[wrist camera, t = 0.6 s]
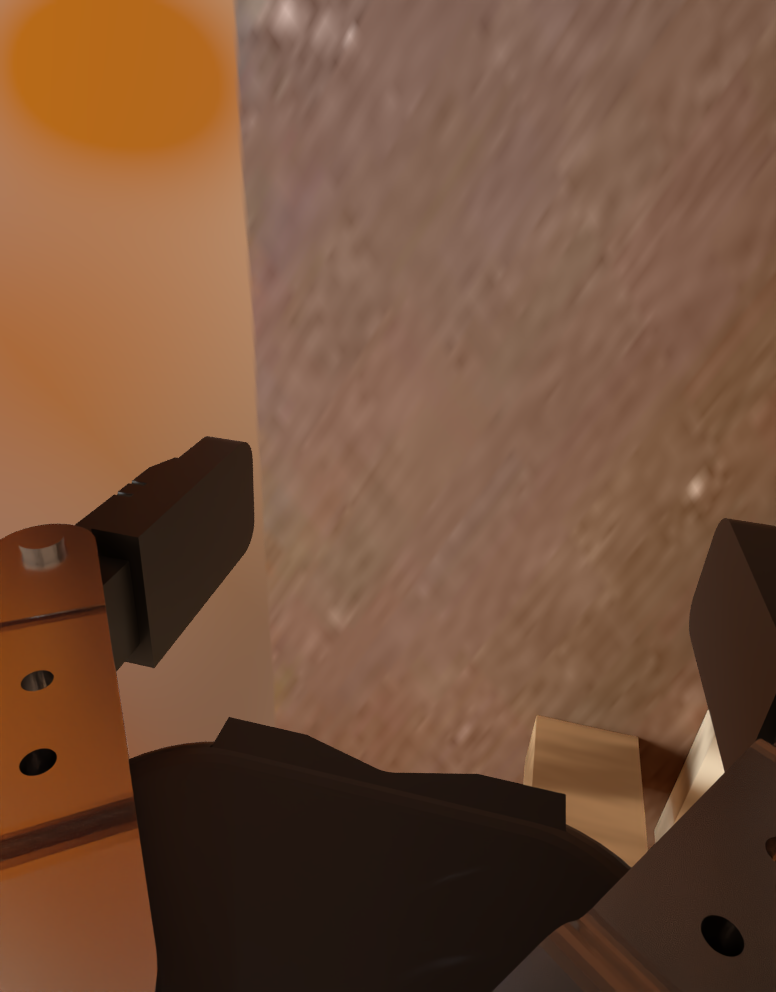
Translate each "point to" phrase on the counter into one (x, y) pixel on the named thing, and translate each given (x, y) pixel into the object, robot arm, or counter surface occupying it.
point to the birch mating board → (693, 777)
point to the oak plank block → (592, 782)
